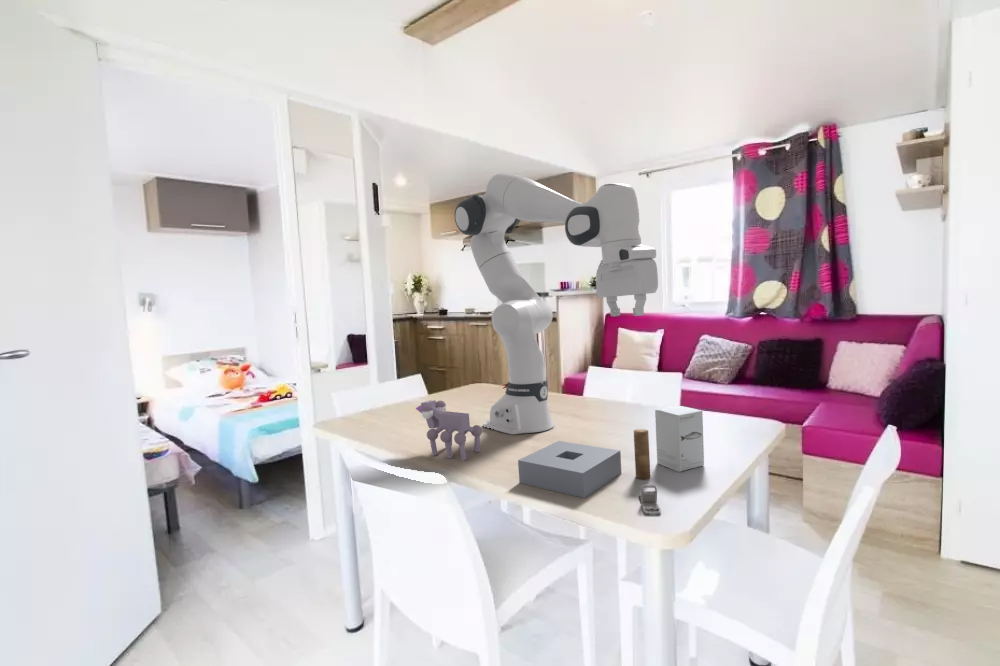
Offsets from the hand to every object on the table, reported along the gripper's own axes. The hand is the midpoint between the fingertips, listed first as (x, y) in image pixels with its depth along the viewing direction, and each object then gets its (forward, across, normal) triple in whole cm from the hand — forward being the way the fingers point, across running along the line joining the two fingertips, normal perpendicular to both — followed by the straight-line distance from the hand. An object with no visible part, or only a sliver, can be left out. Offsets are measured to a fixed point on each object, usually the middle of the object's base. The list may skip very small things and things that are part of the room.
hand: (626, 315), depth 115 cm
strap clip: (+35, +21, -12) cm, 42 cm away
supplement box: (+35, +6, +7) cm, 36 cm away
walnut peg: (+34, +9, -5) cm, 35 cm away
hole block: (+34, +2, -18) cm, 38 cm away
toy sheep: (+33, -32, -39) cm, 60 cm away
